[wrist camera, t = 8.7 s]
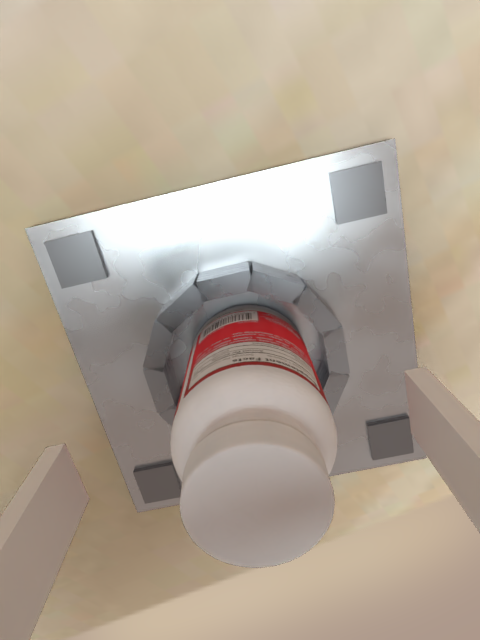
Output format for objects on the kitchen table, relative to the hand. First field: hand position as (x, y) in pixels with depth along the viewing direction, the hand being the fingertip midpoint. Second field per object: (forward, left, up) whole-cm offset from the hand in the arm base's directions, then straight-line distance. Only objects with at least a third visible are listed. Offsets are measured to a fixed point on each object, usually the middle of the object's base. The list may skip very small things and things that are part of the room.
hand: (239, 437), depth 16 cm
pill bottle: (+1, 0, -7) cm, 8 cm away
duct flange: (0, 0, -8) cm, 8 cm away
